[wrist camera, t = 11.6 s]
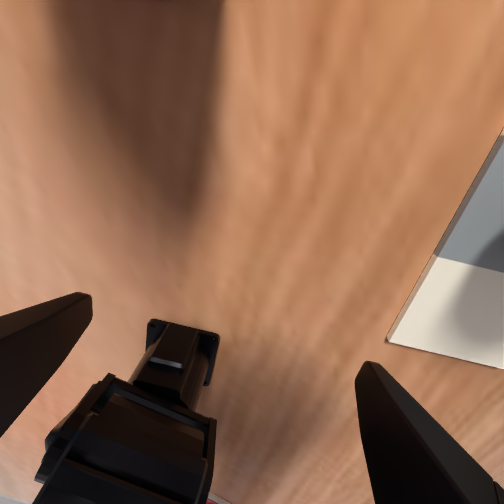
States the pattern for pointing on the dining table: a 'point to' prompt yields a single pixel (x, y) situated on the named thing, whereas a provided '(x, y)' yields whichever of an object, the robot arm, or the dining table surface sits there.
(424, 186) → the dining table surface
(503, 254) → the game board
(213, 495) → the smartphone
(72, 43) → the dining table surface
